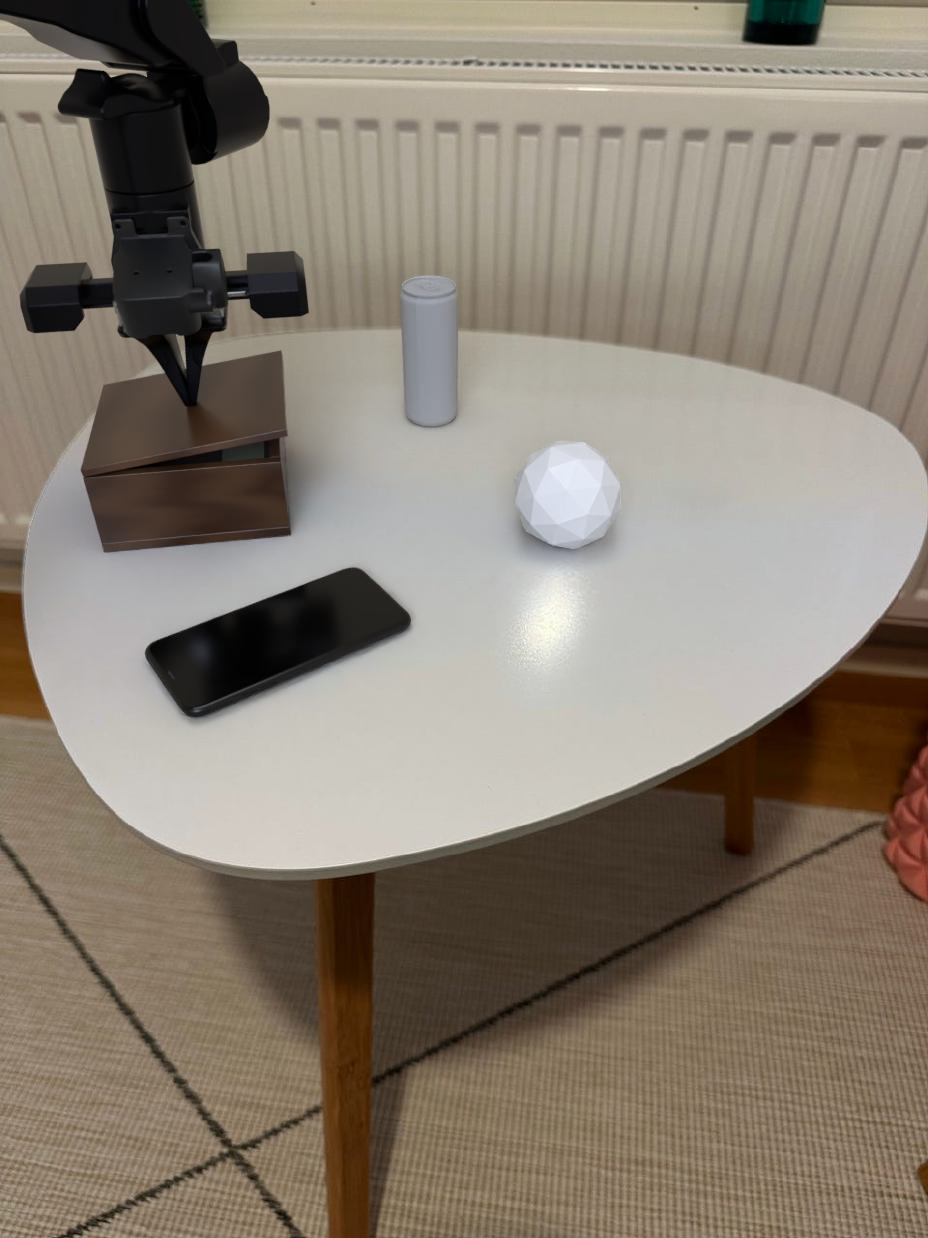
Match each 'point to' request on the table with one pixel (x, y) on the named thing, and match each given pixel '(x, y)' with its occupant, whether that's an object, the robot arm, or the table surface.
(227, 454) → the black lcd device
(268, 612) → the smartphone
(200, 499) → the case
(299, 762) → the table surface
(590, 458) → the geometric ball
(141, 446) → the case lid
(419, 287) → the beverage can
